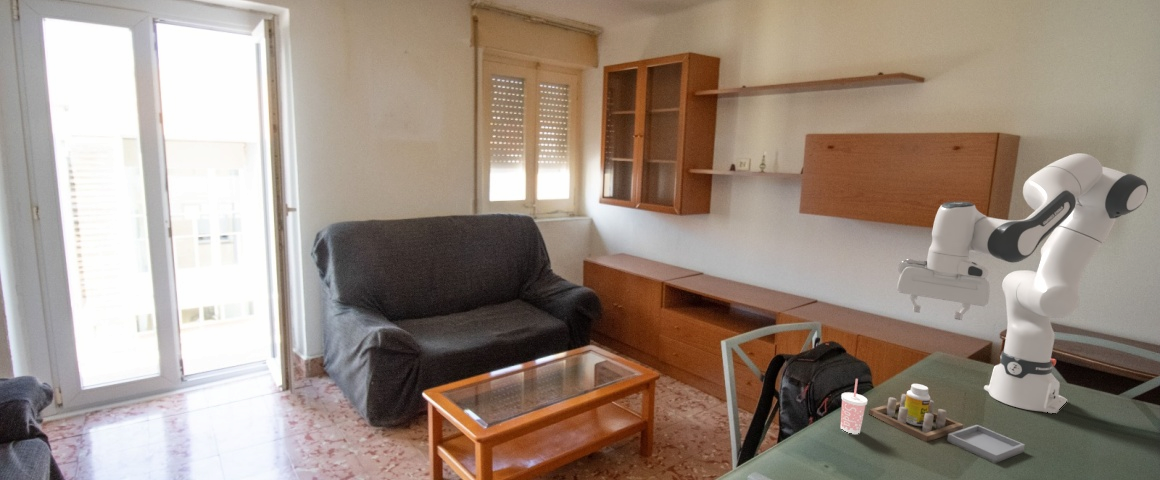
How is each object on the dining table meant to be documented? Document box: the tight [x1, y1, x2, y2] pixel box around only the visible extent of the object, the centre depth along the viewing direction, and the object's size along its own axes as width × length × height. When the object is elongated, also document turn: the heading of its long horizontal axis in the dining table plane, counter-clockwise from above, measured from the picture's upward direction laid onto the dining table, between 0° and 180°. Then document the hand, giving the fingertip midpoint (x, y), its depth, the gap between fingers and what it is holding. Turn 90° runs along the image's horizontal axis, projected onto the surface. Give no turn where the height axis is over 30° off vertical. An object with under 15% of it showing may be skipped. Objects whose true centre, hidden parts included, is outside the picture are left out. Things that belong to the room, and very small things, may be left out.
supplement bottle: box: [905, 383, 931, 427], centre depth 152 cm, size 6×6×10 cm
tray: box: [946, 424, 1026, 464], centre depth 141 cm, size 13×11×2 cm
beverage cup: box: [840, 378, 869, 435], centre depth 146 cm, size 6×6×14 cm
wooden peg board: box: [868, 393, 964, 442], centre depth 152 cm, size 16×16×5 cm
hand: (936, 315), depth 148 cm, fingers open, 8 cm apart
